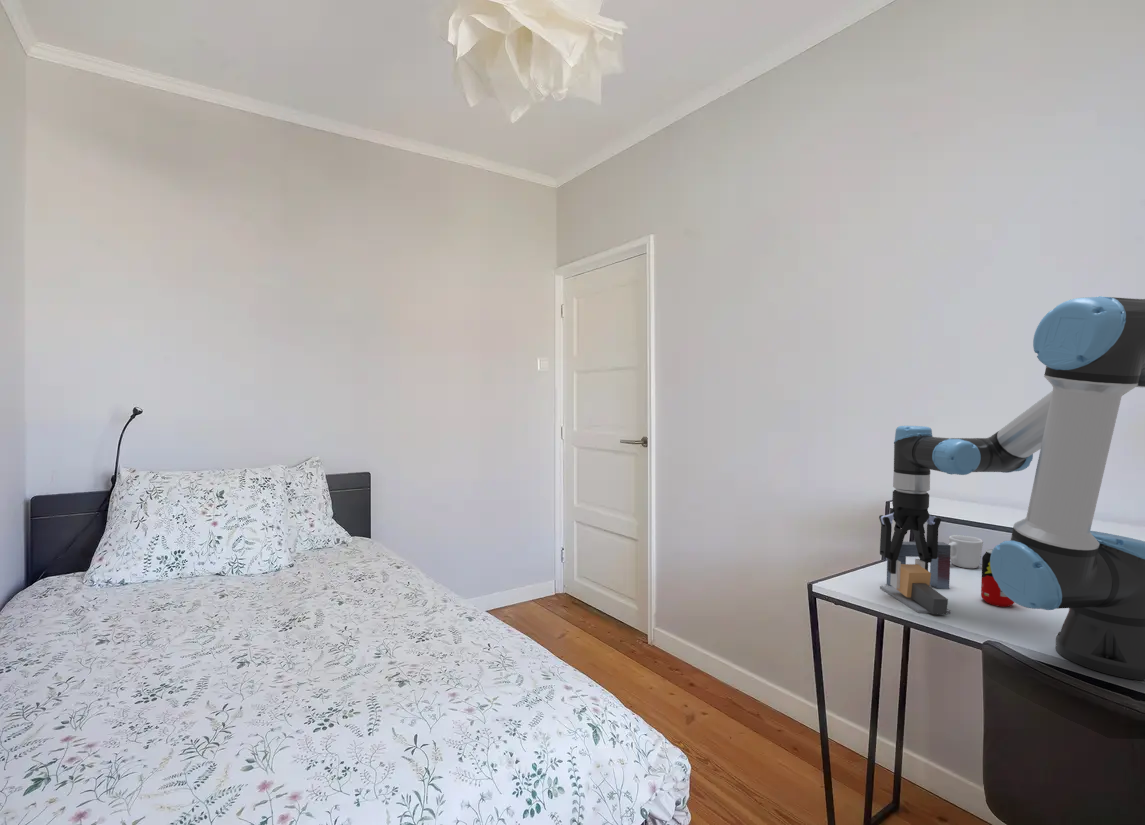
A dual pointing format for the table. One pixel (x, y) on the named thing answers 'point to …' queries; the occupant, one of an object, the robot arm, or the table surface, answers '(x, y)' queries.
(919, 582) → the plug
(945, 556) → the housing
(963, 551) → the cup
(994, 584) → the beverage can
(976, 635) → the table surface
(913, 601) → the mat
